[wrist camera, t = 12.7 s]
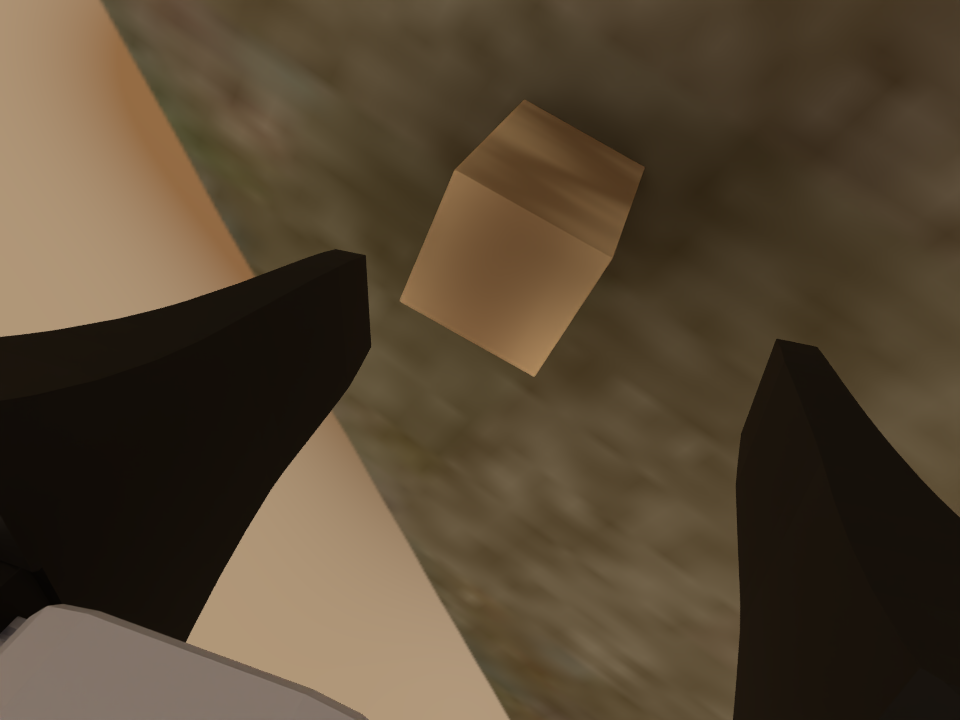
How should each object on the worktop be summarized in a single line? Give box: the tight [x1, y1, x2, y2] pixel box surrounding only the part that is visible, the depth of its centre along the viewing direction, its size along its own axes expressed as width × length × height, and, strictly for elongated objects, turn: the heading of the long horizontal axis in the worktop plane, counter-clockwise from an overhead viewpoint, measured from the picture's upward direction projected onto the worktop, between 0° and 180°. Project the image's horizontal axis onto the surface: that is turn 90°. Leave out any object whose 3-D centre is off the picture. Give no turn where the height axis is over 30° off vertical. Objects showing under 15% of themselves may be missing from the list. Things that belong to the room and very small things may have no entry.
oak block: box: [400, 99, 645, 377], centre depth 19 cm, size 4×4×6 cm
